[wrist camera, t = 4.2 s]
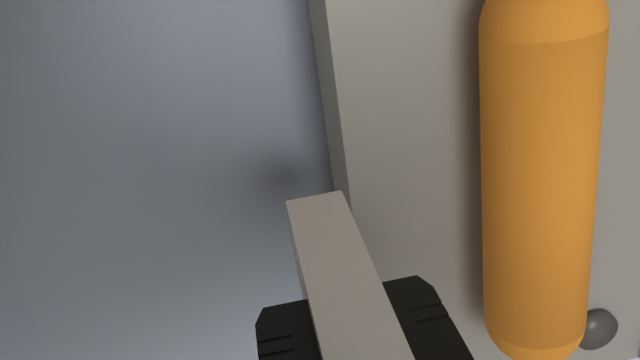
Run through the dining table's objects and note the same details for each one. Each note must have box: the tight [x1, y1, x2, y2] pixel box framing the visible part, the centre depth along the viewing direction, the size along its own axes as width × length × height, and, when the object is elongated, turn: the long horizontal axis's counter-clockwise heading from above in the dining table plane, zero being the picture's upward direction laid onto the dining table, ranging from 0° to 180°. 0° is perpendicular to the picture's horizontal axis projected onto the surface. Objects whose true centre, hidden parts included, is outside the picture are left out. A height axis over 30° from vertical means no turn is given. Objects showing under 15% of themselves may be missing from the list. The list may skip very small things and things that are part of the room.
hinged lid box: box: [307, 0, 640, 360], centre depth 20 cm, size 17×18×4 cm
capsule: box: [478, 0, 610, 360], centre depth 17 cm, size 3×12×3 cm, turn 8°
